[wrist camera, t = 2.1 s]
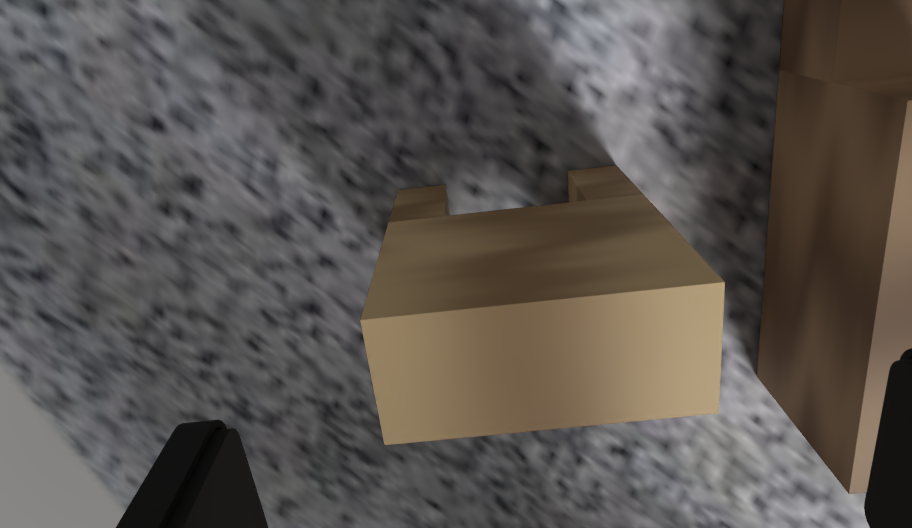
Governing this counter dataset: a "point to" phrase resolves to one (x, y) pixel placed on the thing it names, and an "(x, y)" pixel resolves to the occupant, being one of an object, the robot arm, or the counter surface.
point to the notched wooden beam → (839, 225)
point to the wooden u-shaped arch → (539, 315)
